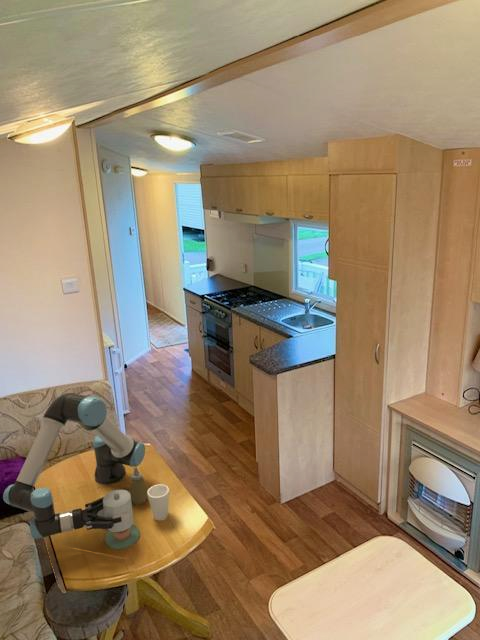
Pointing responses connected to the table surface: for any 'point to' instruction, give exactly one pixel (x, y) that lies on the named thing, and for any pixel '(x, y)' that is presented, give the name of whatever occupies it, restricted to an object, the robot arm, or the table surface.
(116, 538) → the green and pink dish
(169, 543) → the table surface
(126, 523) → the lidded canister
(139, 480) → the squeeze bottle
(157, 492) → the foam cup
